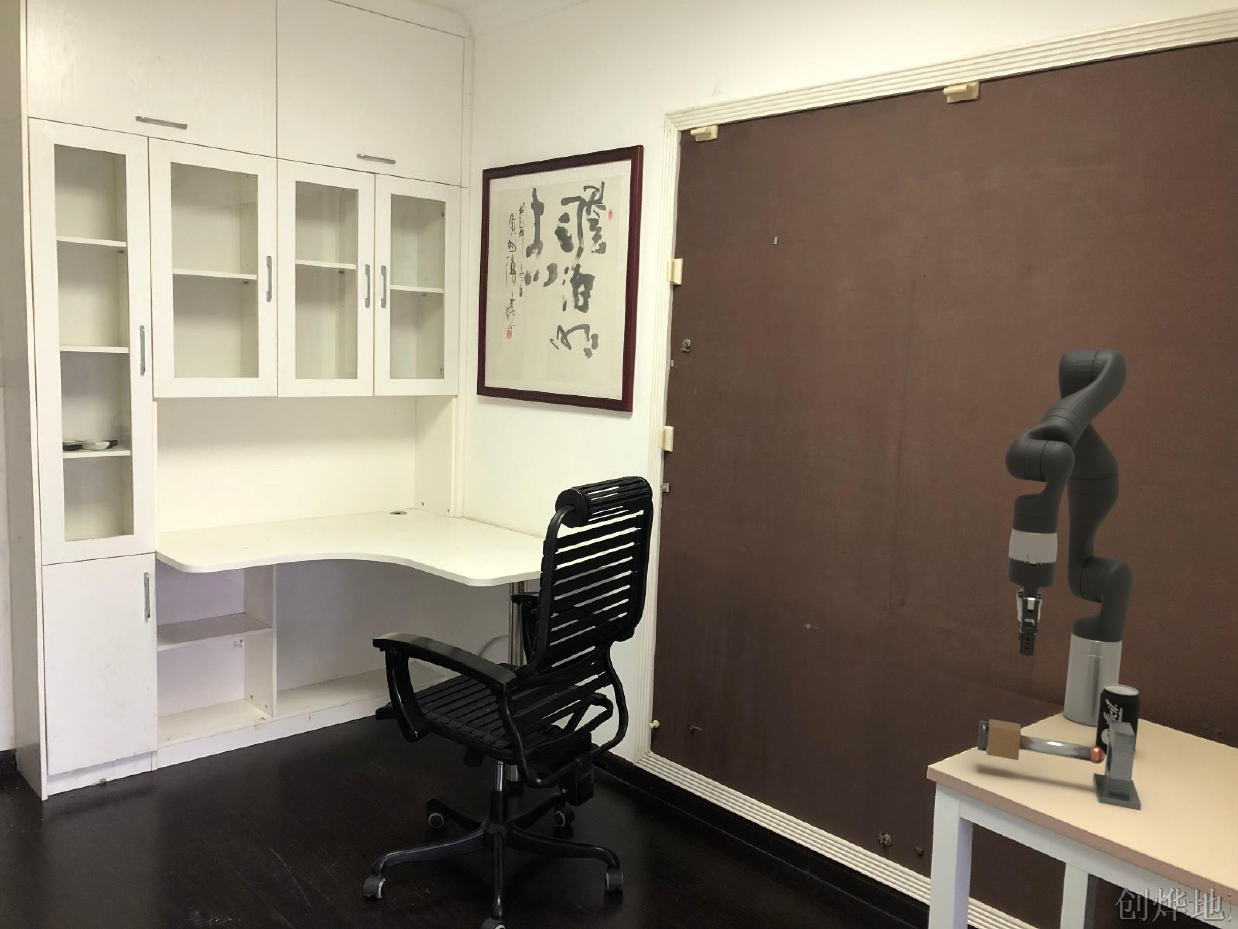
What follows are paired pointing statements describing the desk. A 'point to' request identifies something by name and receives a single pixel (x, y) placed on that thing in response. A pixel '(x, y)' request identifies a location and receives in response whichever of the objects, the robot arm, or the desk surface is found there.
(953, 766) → the desk surface
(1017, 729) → the metal rod with knob
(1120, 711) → the beverage can
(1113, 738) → the square loop bracket
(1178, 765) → the desk surface
